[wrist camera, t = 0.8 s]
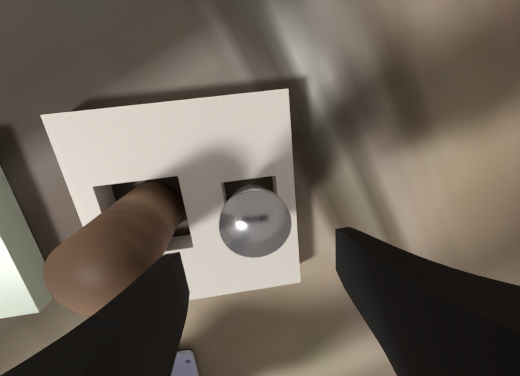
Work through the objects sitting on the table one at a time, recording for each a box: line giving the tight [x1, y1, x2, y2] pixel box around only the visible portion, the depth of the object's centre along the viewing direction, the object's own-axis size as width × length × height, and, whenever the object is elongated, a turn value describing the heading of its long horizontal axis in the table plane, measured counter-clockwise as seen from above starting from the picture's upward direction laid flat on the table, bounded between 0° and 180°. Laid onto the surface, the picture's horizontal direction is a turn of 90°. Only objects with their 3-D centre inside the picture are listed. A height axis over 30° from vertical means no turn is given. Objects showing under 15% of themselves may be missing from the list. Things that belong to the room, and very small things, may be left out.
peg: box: [43, 181, 184, 317], centre depth 14 cm, size 4×4×8 cm
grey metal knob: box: [219, 184, 292, 258], centre depth 15 cm, size 4×4×3 cm
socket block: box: [41, 89, 301, 300], centre depth 17 cm, size 14×14×2 cm
